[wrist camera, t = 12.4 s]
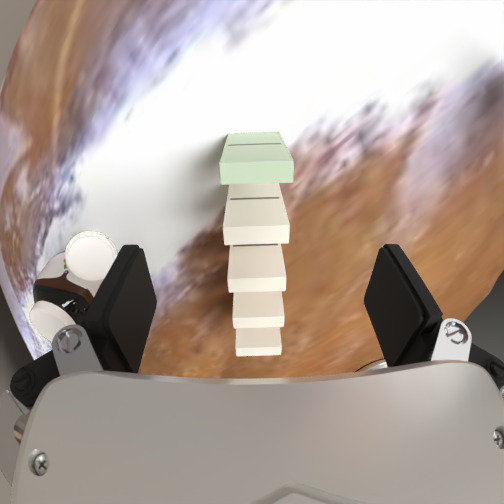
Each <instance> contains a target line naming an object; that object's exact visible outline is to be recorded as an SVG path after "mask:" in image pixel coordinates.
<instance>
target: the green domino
mask: <svg viewBox="0 0 504 504" xmlns="http://www.w3.org/2000/svg"><path fill="white" fill-rule="evenodd" d="M219 166H220V178H221V185H229V184H254V183H293V169H294V161H293V159H292V157H291V155H290V153H289V151H288V149H287V147H286V145H285V143H284V141H283V139H282V137H281V136H280V134H279V132H262V133H234V134H228V136H227V140H226V143H225V146H224V149H223V153H222V156H221V159H220V163H219Z"/></svg>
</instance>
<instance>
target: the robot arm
mask: <svg viewBox="0 0 504 504" xmlns="http://www.w3.org/2000/svg"><path fill="white" fill-rule="evenodd" d="M364 304H365V307H366V310H367V312H368V315H369V317H370V320H371V322H372V325H373V328H374V330H375V333H376V336H377V338H378V341H379V344H380V347H381V349H382V352H383V355H384V358H385V359H383V360H379V361H376V362H374V363H371V364H369V365H367V366H365V367H363V368H362V369H360V370H359V371H357V372H352V373H342V374H332V375H321V376H308V377H292V378H267V379H215V378H190V377H174V376H161V375H148V374H137V373H138V370H139V367H140V363H141V359H142V355H143V351H144V348H145V344H146V340H147V337H148V333H149V330H150V326H151V323H152V319H153V316H154V313H155V309H156V305H157V300H156V296H155V292H154V289H153V285H152V281H151V278H150V274H149V270H148V266H147V262H146V258H145V254H144V251H143V249H142V248H139V246H138V245H123V247H122V248H121V250H120V252H119V253H118V255H117V257H116V259H115V261H114V262H113V264H112V266H111V268H110V269H109V271H108V273H107V275H106V277H105V278H104V280H103V281H102V283H101V285H100V287H99V288H98V290H97V292H96V294H95V296H94V298H93V300H92V302H91V304H90V306H89V308H88V310H87V312H86V314H85V316H84V318H83V320H82V323H81V325H75V324H74V325H68V326H65V327H63V328H62V329H60V330H59V331H58V332H57V333H56V334H55V336H54V338H53V341H52V350H51V351H50V352H48V353H46V354H44V355H43V356H41V357H39V358H38V359H36V360H34V361H33V362H31V363H29V364H27V365H26V366H24V367H22V368H21V369H19V370H18V371H17V372H16V373H15V374H14V375H13V377H12V380H11V384H10V388H11V390H10V391H9V392H8V391H7V390H6V391H5V392H4V393H3V394H2V395H1V396H0V470H1V472H2V473H3V475H4V476H5V478H6V479H7V481H8V482H9V484H10V485H11V486H12V493H11V504H504V363H503V362H502V361H501V360H500V359H498V358H497V357H495V356H493V355H491V354H490V353H488V352H486V351H485V350H483V349H481V348H479V347H477V346H476V345H474V344H472V343H471V333H470V331H469V329H468V328H467V326H465V324H464V323H462V322H461V321H459V320H456V319H451V318H449V319H446V320H444V321H443V319H442V315H443V314H442V312H441V310H440V308H439V307H438V305H437V303H436V302H435V300H434V298H433V297H432V295H431V293H430V292H429V290H428V288H427V287H426V285H425V284H424V282H423V280H422V279H421V277H420V276H419V274H418V273H417V271H416V270H415V268H414V267H413V265H412V264H411V262H410V261H409V259H408V258H407V256H406V255H405V253H404V252H403V250H402V249H401V247H400V246H399V245H398V244H385V245H384V246H383V248H380V249H379V252H378V255H377V259H376V262H375V265H374V269H373V272H372V275H371V278H370V281H369V284H368V287H367V290H366V293H365V296H364Z"/></svg>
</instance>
